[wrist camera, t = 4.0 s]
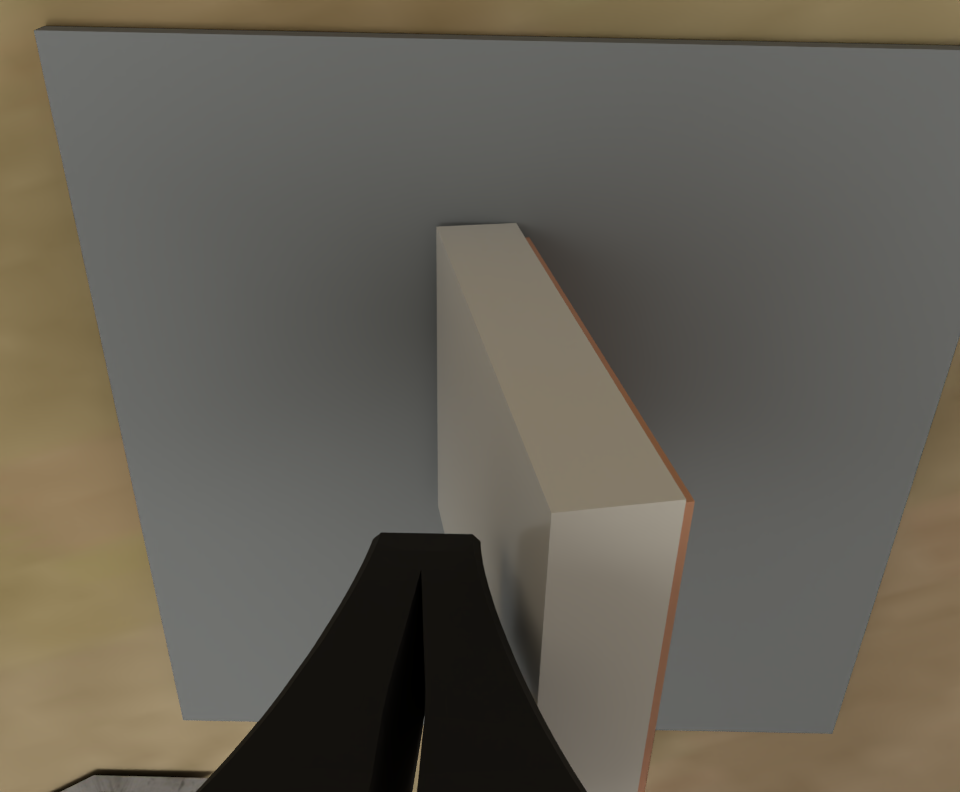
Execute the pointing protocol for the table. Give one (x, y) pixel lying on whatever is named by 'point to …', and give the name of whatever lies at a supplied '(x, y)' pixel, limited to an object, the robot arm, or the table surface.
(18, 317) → the table surface
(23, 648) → the table surface
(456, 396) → the tile
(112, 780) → the dark ornate flat tool
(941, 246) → the mat
